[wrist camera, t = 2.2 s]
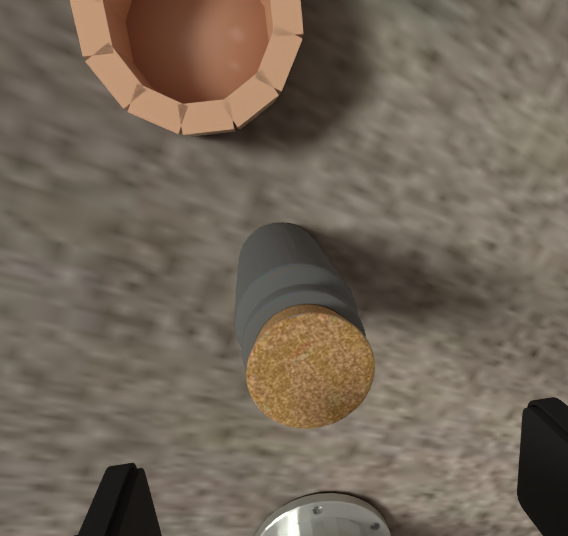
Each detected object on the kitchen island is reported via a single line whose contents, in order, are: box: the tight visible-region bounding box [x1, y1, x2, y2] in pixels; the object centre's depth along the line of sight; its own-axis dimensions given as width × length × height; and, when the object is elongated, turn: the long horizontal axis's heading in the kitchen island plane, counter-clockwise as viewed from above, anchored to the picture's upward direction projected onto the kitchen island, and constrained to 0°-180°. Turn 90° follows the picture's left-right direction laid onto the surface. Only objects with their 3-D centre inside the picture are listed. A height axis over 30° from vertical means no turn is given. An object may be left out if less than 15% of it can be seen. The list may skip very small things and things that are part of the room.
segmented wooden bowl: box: [70, 0, 303, 137], centre depth 22 cm, size 11×11×5 cm
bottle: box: [235, 223, 375, 428], centre depth 22 cm, size 6×6×15 cm
